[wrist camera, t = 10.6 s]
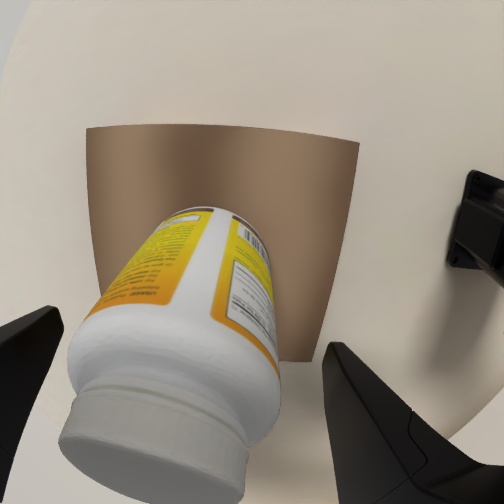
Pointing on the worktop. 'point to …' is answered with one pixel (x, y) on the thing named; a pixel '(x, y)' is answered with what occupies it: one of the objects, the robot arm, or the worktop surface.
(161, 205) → the walnut plinth
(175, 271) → the supplement bottle
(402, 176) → the worktop surface
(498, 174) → the worktop surface
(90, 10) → the worktop surface
